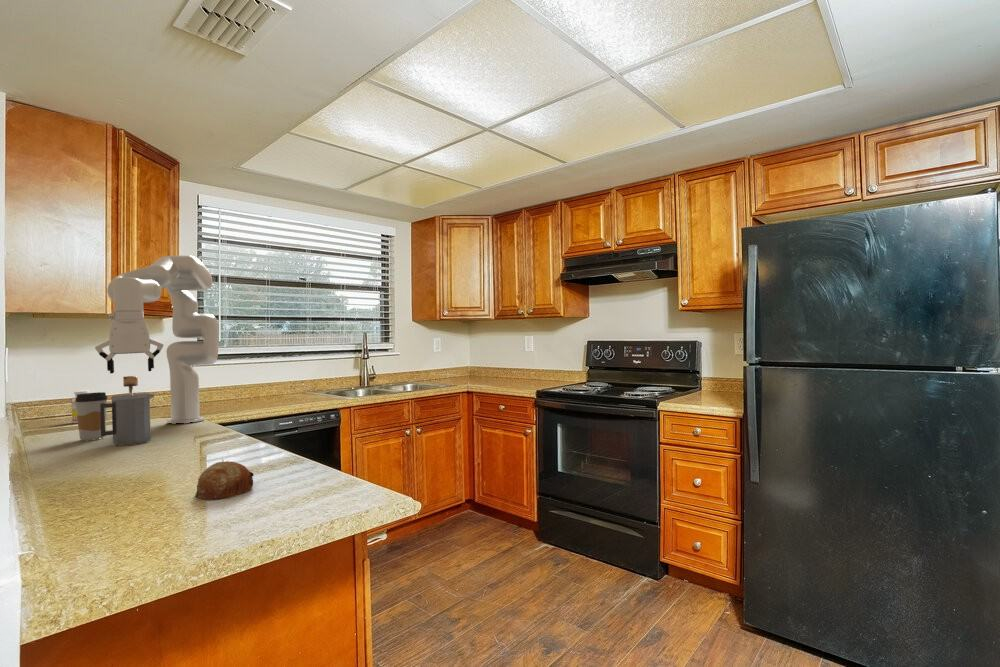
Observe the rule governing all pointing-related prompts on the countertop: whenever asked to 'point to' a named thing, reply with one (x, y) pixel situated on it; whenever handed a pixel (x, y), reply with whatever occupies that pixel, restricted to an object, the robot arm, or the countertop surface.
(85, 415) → the coffee cup
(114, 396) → the french press
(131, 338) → the robot arm
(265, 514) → the countertop surface
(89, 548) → the countertop surface
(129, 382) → the plunger
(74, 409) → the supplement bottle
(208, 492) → the bread roll
